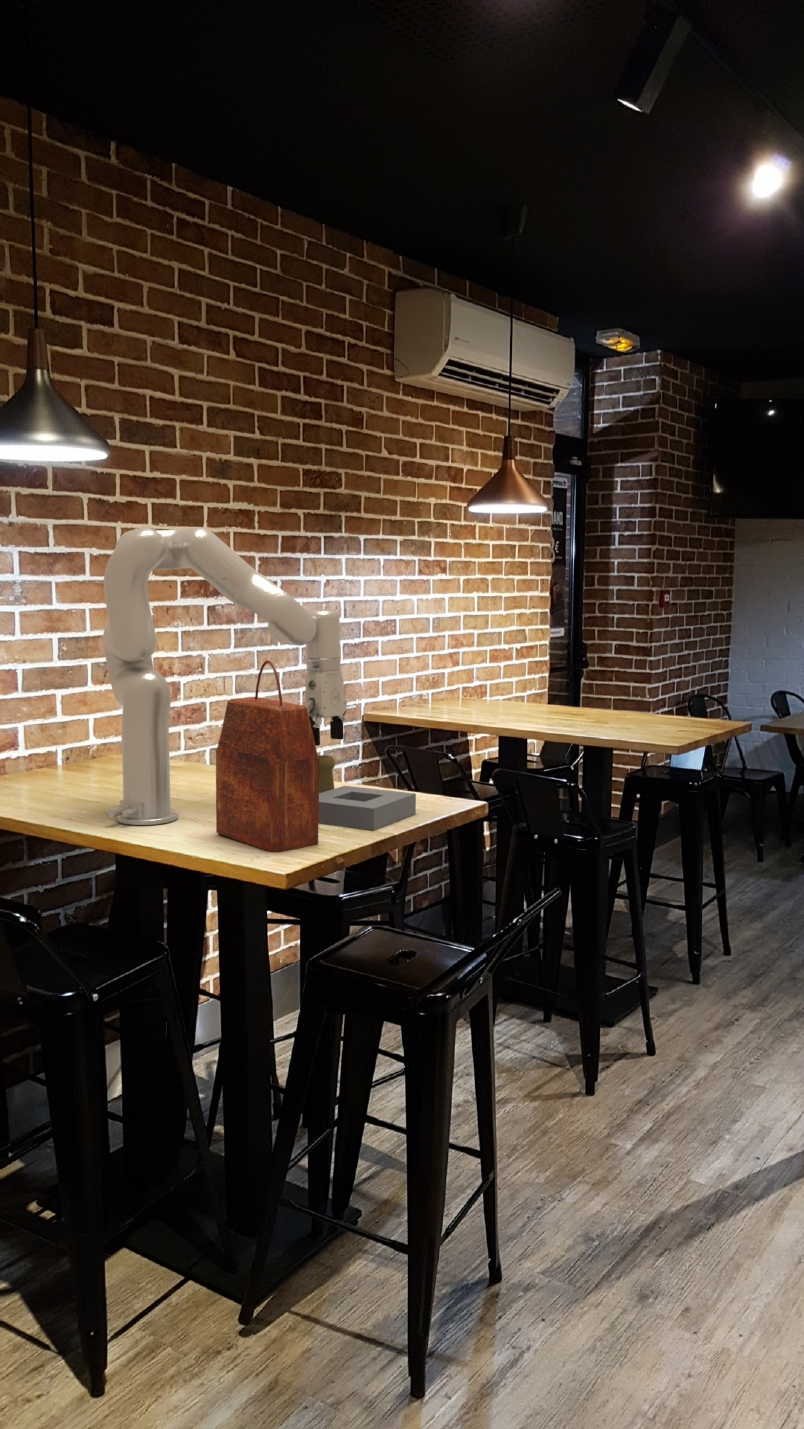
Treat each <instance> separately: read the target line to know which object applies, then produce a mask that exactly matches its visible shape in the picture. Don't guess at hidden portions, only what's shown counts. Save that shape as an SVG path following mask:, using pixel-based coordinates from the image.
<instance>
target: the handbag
mask: <svg viewBox="0 0 804 1429" xmlns="http://www.w3.org/2000/svg"><path fill="white" fill-rule="evenodd" d="M267 664H269V665H270V667H271V668H272V670H273V674H274V676H275V681H276V686H277V692H278V699H279V700H275V699H269V698H264V697H259V696H258V695H259V688H260V682H261V677H262V673H263V670H264V667H265V666H266V665H267ZM255 686H256V687H255V696H254V697H241V698H239V697H238V698H231V699H230V700H229V699H228V701H227V703H226V706H225V707H226V709H225V713H224V717H223V722H222V726H221V732H220V735H219V740H218V744H217V746H216V749H215V797H216V798H215V803H216V804H215V807H216V808H215V812H216V813H215V815H216V816H215V817H216V818H215V827H216V829H215V833H216V834H218V835H219V836H224V837H225V836H226V837H227V838H230V839H234V840H237V841H240V842H242V843H245V844H248V845H251V846H253V847H256V848H258V849H262V850H265V851H267V852H274V853H280V852H285V851H290V850H294V849H295V850H296V849H300V848H305V847H310V846H317V845H319V824H320V823H319V764H320V759H319V757H318V756H319V754H318V751H317V747H316V746H315V741H314V737H313V733H312V729H311V724H310V720H309V716H308V712H307V708H306V707H305V706H304V705H305V704H304V705H303V704H298V703H292V702H291V703H290V702H286V701H283V696H282V690H281V684H280V679H279V675H278V671H277V669H276V667H275V664H273V662H272V661H271V660H264V662H263V663H262V665H261V667H260V669H259V672H258V675H257V681H256V685H255Z"/></svg>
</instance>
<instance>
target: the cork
mask: <svg viewBox="0 0 804 1429" xmlns="http://www.w3.org/2000/svg"><path fill="white" fill-rule="evenodd" d="M318 757H319V759H320V764H319V793H322V792H325V791H329V790H332V789H335V788H336V787H335V782H334V781H335V780H334V775H333V773H334V772H333V770H334V768H335V764H336V762H335V759H334V757H333V756H332V755H327V754H324V755H323V754H321V755H318Z"/></svg>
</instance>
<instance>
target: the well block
mask: <svg viewBox="0 0 804 1429" xmlns="http://www.w3.org/2000/svg"><path fill="white" fill-rule="evenodd" d="M334 788H335V789H332V790H329V791H325V792H322V793H319V824H321V825H329V826H337V827H344V828H352V829H358V830H366V831H377V830H378V829H381V827H382V828H384V827H386V826H389V825H392V824H393V823H397V822H399V821H402V820H404V818H405V819H407V818H410V817H412V816H414V815H416V814H417V812H416V811H417V808H416V805H417V804H416V803H417V800H416V798H417V795H416V793H415V792H414V793H413V792H406V791H405V792H404V791H395V790H385V789H377V788H368V787H360V786H359V787H357V786H351V785H343V786H340V787H334ZM411 815H412V816H411Z"/></svg>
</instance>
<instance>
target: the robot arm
mask: <svg viewBox="0 0 804 1429" xmlns="http://www.w3.org/2000/svg"><path fill="white" fill-rule="evenodd" d="M184 569H191V570H192V571H194V572H195V573H197V574H198V575H199V576H200V577H201V578H203V579H204V580H205V581H206V582H208V583H209V584H210V586H213V587H214V588H215V590H217V591H218V592H219V593H220V594H221V595H222V596H223V597H224V598H226V599H227V600H228V601H230V602H231V603H233V604H235V605H236V606H239V607H241V608H243V609H246V610H248V611H251V612H252V613H254V614H255V615H257V616H258V617H260V618H261V619H263V620H264V621H266V622H267V630H268V631H267V632H268V633H269V636H270V637H271V638H272V639H273V640H275V641H276V642H278V643H279V644H282V645H283V644H284V645H290V646H296V647H297V646H299V647H301V646H305V652H306V653H305V655H306V656H305V657H306V659H305V660H306V681H305V699H304V706H305V707H306V708H307V712H308V716H309V720H310V724H311V729H312V733H313V737H314V741H315V746H317V747H318V746H320V745H321V728H320V727H319V725H320V721H321V720H322V718H323V719H329V718H330V719H331V721H329V724H330V725H329V730H330V731H329V732H330V734H329V735H330V739H331V740H343V739H344V737H345V736H344V735H345V734H344V733H345V732H344V722H345V715H346V713H347V711H346V710H347V706H348V701H347V699H346V692H345V691H346V690H345V684H344V682H345V681H344V676H343V672H342V670H341V669H342V668H341V666H342V665H341V633H340V632H341V630H340V629H341V628H340V627H341V624H340V622H341V621H340V615H339V613H338V611H337V610H333V609H312V610H309V611H308V610H307V609H306V608H305V607H304V606H302V604H300V603H299V602H298V601H297V600H296V599H294V598H293V597H292V595H290V594H289V593H287V592H286V591H285V590H284V589H283V588H281V587H279V586H278V585H277V584H275V583H274V582H272V581H271V580H270V579H268V578H267V577H266V576H265V575H263V574H261V573H260V572H258V571H257V570H256V569H255V568H254V567H252V566H251V565H250V564H249V563H248V562H246V560H244V559H243V558H242V557H241V556H240V555H239V554H238V553H236V552H235V550H233V549H232V548H231V547H230V546H229V545H227V544H226V543H225V542H224V541H223V540H222V539H221V538H219V536H218V535H217V534H215V533H214V532H213V531H211V530H209V529H207V528H205V527H202V526H195V527H194V526H193V527H188V528H180V529H163V530H162V529H161V530H160V529H153V528H150V527H139V528H135V529H131V530H128V531H126V532H124V533H123V534H122V535H121V536H120V537H119V538H118V540H117V542H116V544H115V549H114V550H113V551H112V553H111V554H110V556H109V559H108V560H107V564H106V566H105V569H104V573H103V574H104V576H103V593H104V600H105V605H106V612H107V613H106V614H107V618H108V623H107V624H106V626H105V628H104V631H103V635H102V644H103V652H104V657H105V661H106V666H107V670H108V677H109V681H110V684H111V690H112V693H113V696H114V697H115V699H116V701H117V702H118V703H119V704H120V705H121V706H122V716H121V754H122V755H121V757H122V758H121V759H122V790H123V791H122V794H123V796H122V797H123V799H121V800H120V801H119V805H118V806H114V807H111V808H108V809H107V811H106V813H107V816H108V817H109V818H110V819H113V818H115V820H116V822H118V823H120V824H124V825H129V824H130V825H132V826H153V825H161V824H166V823H171V822H174V821H176V820H177V819H178V818H179V812H178V811H177V810H176V809H172V808H171V778H170V777H171V772H170V768H171V767H170V734H169V733H170V715H171V714H170V712H171V711H170V710H171V704H172V703H171V702H172V700H171V698H172V697H171V696H172V695H171V694H172V693H171V689H170V685H169V683H168V680H166V678H165V677H164V676H163V675H162V674H161V673H160V672H159V671H157V670H155V668H154V664H153V658H152V656H153V654H154V653H155V651H156V648H157V643H158V642H157V641H158V640H157V633H156V630H155V626H154V621H153V616H152V615H153V614H152V611H151V605H150V599H149V593H148V584H149V578H150V576H151V573H152V571H166V570H167V571H168V570H169V571H170V570H184Z"/></svg>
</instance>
